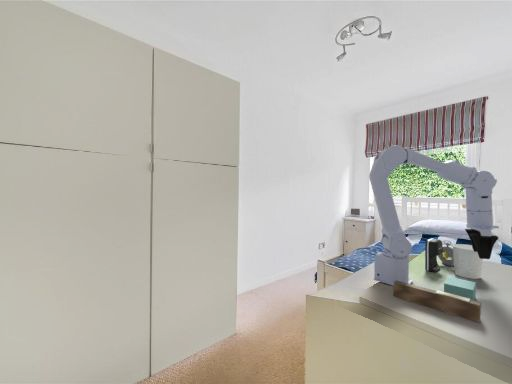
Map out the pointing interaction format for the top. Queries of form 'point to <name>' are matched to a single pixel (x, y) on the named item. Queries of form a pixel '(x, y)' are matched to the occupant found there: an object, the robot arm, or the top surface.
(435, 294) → the walnut board
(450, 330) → the top surface
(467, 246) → the white cup
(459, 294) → the teal block
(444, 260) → the pocket watch
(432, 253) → the battery charger
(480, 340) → the top surface
